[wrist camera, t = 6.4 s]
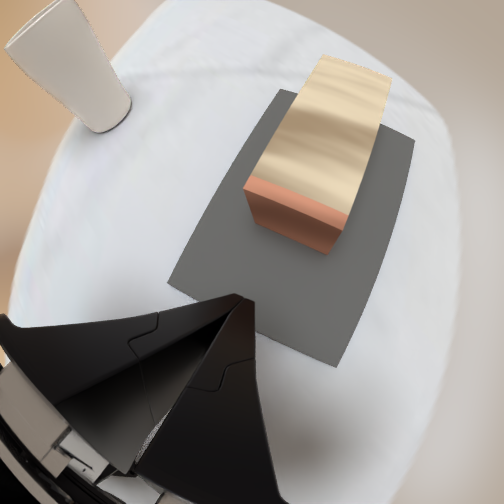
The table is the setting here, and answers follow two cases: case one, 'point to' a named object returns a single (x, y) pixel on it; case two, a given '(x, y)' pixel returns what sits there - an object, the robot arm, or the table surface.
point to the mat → (296, 249)
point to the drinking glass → (70, 65)
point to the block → (319, 154)
